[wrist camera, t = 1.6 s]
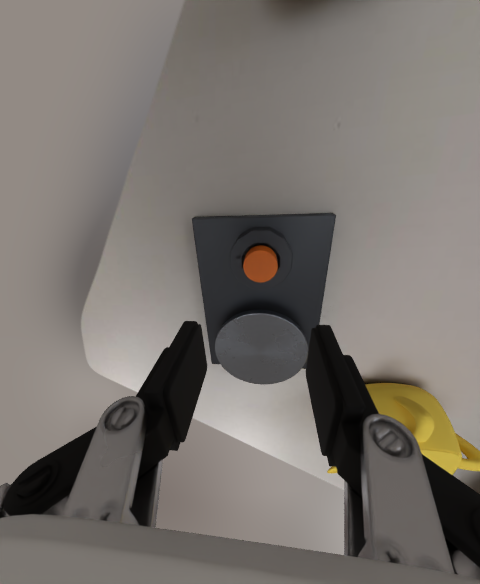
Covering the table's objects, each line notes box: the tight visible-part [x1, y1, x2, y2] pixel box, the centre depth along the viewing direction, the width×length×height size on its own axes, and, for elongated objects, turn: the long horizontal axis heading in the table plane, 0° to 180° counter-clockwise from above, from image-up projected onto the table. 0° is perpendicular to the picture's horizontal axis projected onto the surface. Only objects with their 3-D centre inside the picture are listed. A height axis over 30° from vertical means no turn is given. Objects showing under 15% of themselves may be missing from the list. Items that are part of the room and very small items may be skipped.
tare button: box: [243, 245, 278, 282], centre depth 21 cm, size 3×3×2 cm
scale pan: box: [215, 310, 308, 384], centre depth 26 cm, size 11×11×1 cm
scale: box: [192, 213, 336, 369], centre depth 25 cm, size 14×20×3 cm
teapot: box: [327, 383, 480, 475], centre depth 28 cm, size 14×13×10 cm
